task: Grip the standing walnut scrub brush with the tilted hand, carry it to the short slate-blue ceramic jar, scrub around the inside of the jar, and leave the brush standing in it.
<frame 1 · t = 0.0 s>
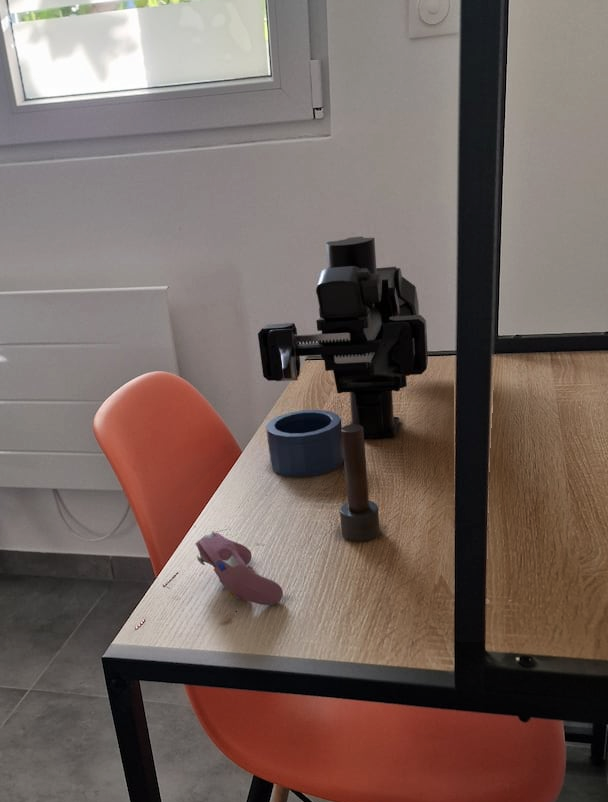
hand: (327, 371, 86), 17 cm above the table, tool horizontal, fingers open, 9 cm apart
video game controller: (240, 591, 81), on the table
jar: (307, 462, 107), on the table
brush: (360, 533, 88), on the table
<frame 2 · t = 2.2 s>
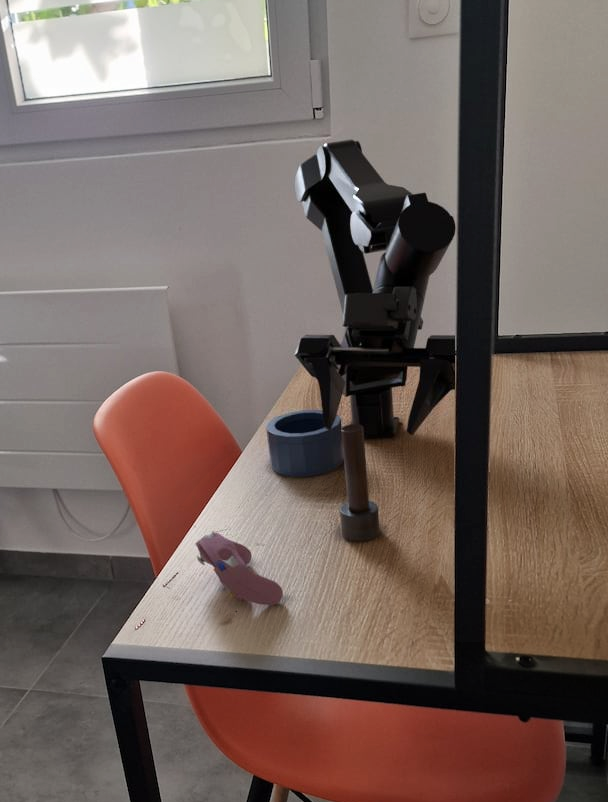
hand: (367, 430, 86), 10 cm above the table, tool tilted 45°, fingers open, 9 cm apart
nothing on the table moved.
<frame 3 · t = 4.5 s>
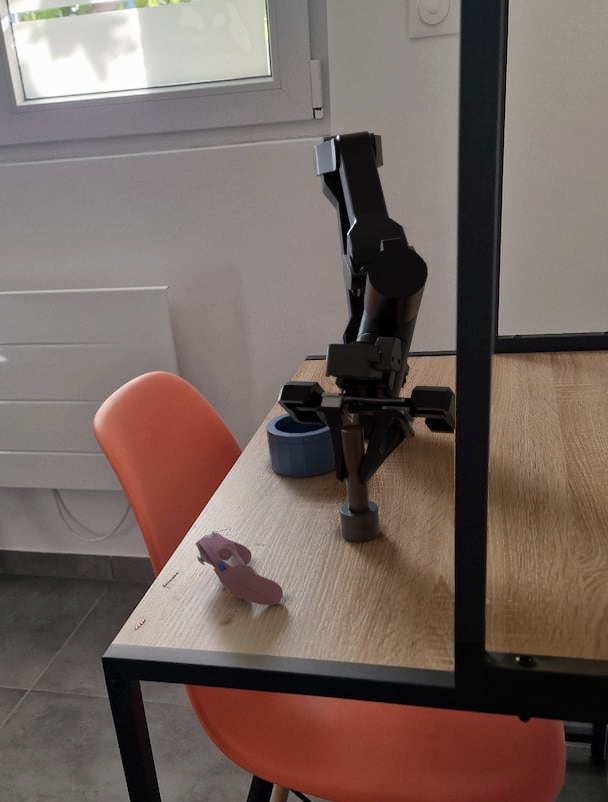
hand: (350, 482, 84), 7 cm above the table, tool tilted 45°, fingers closed on brush, 2 cm apart
brush: (360, 533, 88), on the table, touching gripper
everything else where it was.
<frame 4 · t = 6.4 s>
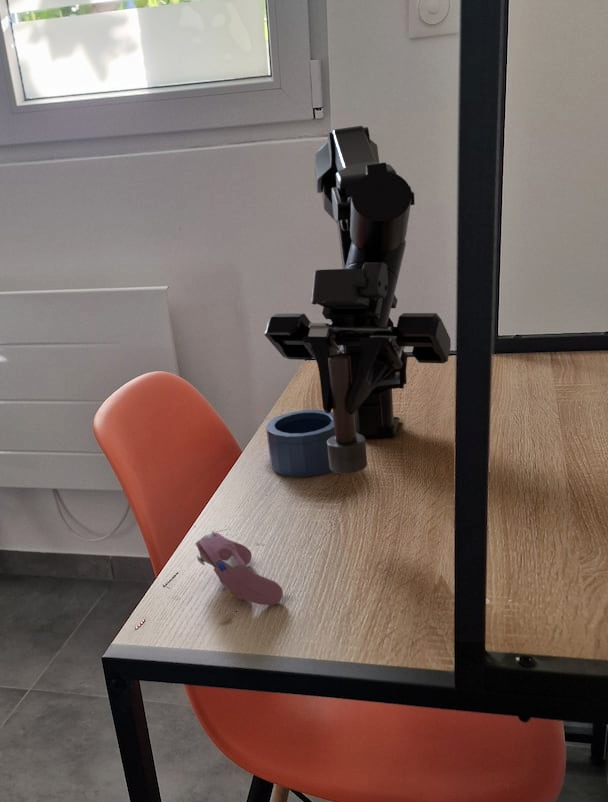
hand: (337, 412, 84), 13 cm above the table, tool tilted 45°, fingers closed on brush, 2 cm apart
brush: (348, 465, 87), point 7 cm above the table, touching gripper
everything else where it was.
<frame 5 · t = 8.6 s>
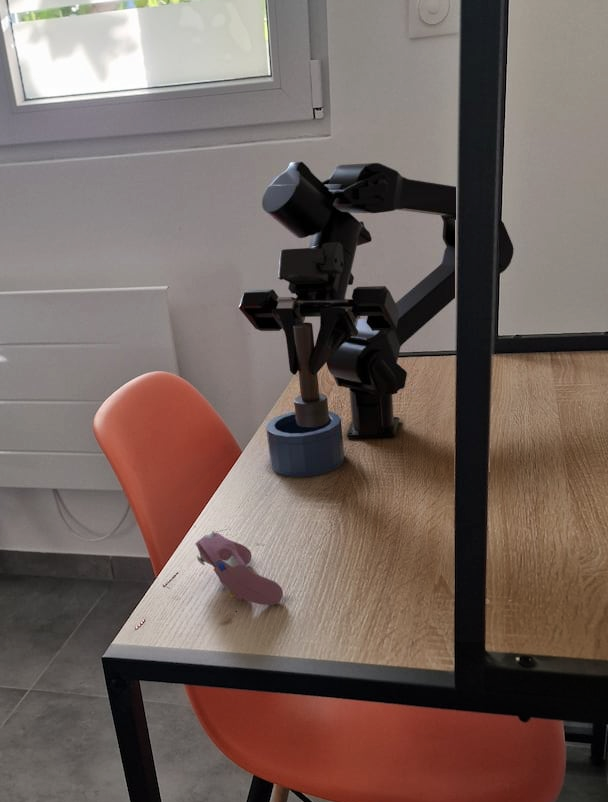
hand: (302, 373, 97), 14 cm above the table, tool tilted 45°, fingers closed on brush, 2 cm apart
brush: (312, 421, 100), point 7 cm above the table, touching gripper
everything else where it was.
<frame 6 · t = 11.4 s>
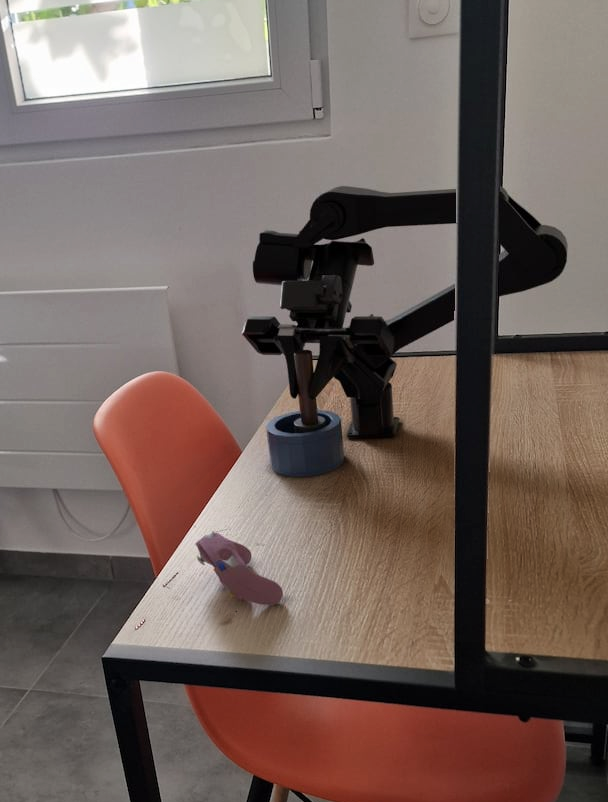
hand: (302, 397, 102), 9 cm above the table, tool tilted 45°, fingers closed on brush, 2 cm apart
brush: (311, 442, 106), point 3 cm above the table, touching gripper
everything else where it was.
when the fingers open (7 cm above the table, at t = 13.2 s): brush stays where it is, resting on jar.
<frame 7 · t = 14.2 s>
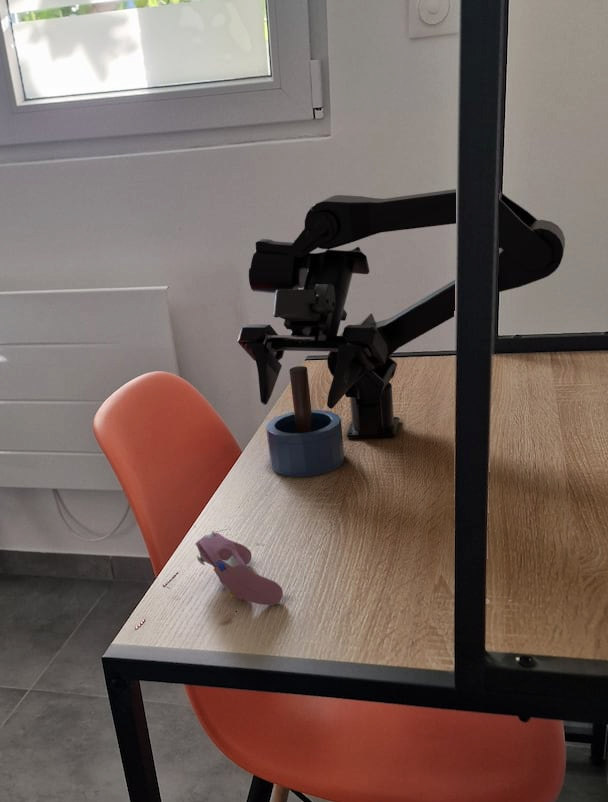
hand: (295, 405, 102), 8 cm above the table, tool tilted 45°, fingers open, 9 cm apart
brush: (307, 457, 107), point 1 cm above the table, touching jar
everything else where it was.
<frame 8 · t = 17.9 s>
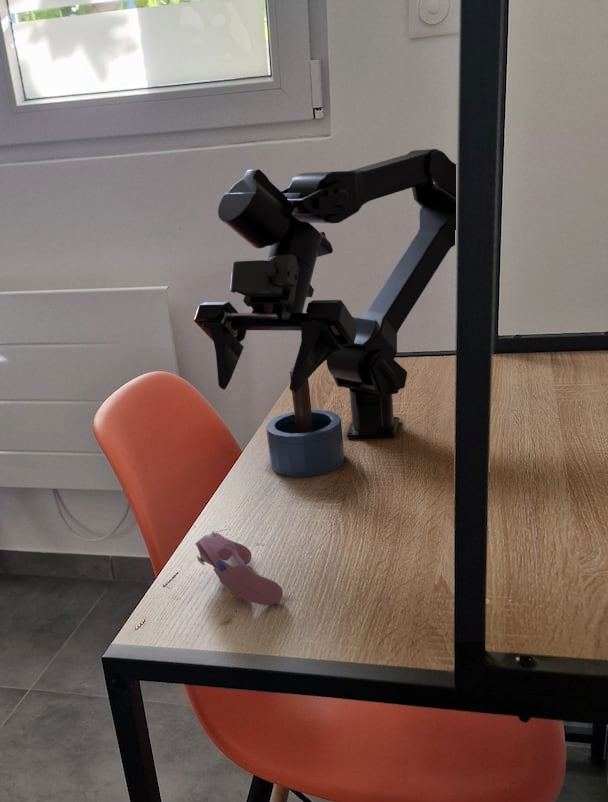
hand: (256, 389, 93), 14 cm above the table, tool tilted 45°, fingers open, 9 cm apart
nothing on the table moved.
at the end: brush 0.1 cm off-centre in the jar, point 0.6 cm above the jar's base; the gripper is holding nothing; brush moved 21.5 cm from its start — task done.
